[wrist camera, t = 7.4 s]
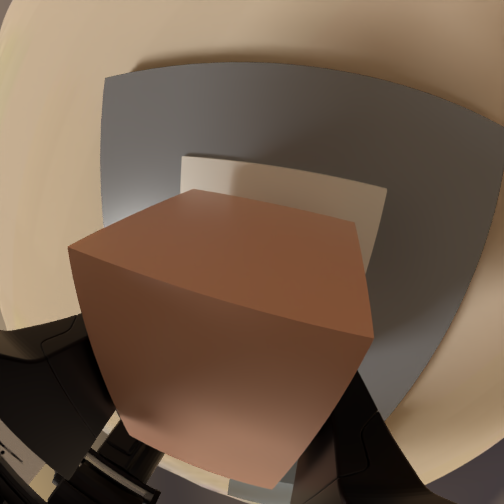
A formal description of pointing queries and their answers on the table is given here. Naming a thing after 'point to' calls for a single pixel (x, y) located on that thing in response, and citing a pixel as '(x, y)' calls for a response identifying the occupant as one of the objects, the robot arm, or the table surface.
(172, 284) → the brick
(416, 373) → the baseplate
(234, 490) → the brick
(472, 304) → the table surface
